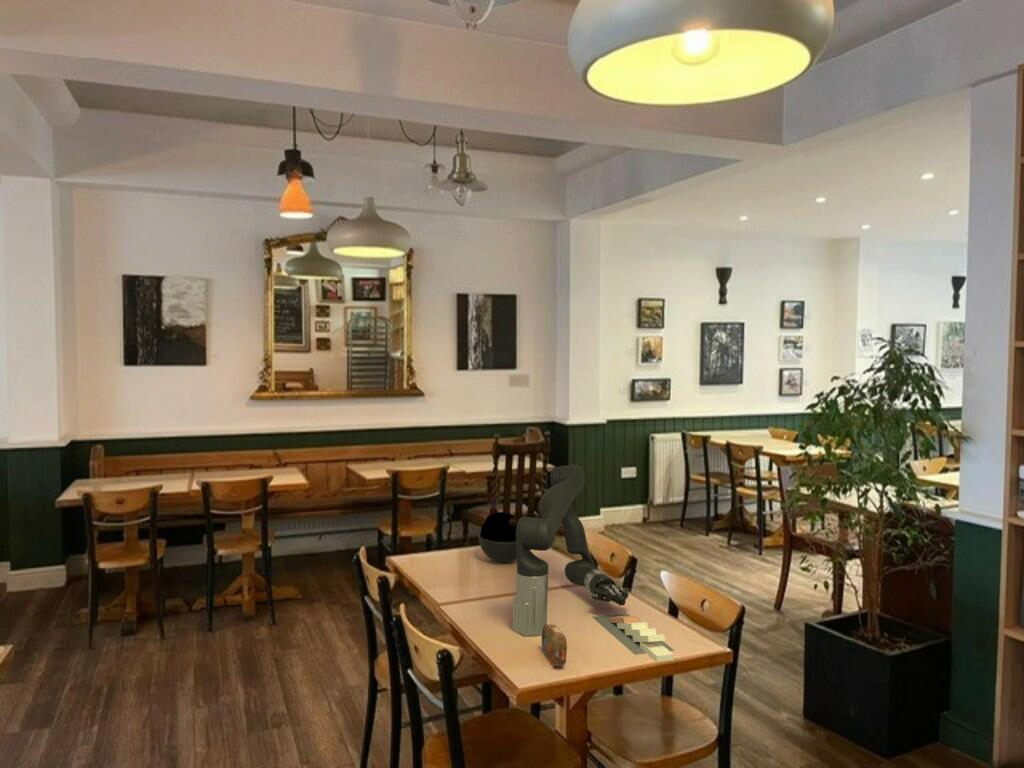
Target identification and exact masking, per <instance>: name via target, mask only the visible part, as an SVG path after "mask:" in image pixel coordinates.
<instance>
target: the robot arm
mask: <svg viewBox="0 0 1024 768" xmlns="http://www.w3.org/2000/svg"><path fill="white" fill-rule="evenodd" d="M549 476H550V477H549V478H550V485H551V487H549V488H548V489H547V490H545V492H544V493H543V495H542V496H541V498H540V500H538V501H539V502H538V506H537V508H538V512H539V515H540V517H541V518H539V517H529V516H522V517H520V518H519V519H518V521H517V524H516V525H517V527H516V552H517V557H516V560H515V561H516V585H515V586H516V587H515V588H516V590H515V592H516V593H515V597H514V598H513V601H512V631H514V632H515V633H517V634H519V635H521V636H524V637H527V636H533V637H534V636H540V635H541V636H542V631H543V627H544V625H545V624H548V598H549V597H548V594H549V591H548V590H549V564H548V562H546V560H545V559H544V560H543V559H542V558H539V557H538V556H536V555H535V554H534V553H533V552H532V551H538V552H539V551H548V550H550V548H552V546H553V544H554V542H555V539H556V536H557V533H558V531H559V528H560V526H561V525H562V528H563V533H564V541H565V546H566V550H567V552H568V554H570V555H580V557H581V559H577V560H573V561H572V560H571V561H569V562H568V563H567V564H566V565H565V567H564V574H565V576H566V579H567V580H568V582H570V583H572V584H573V585H577V586H581V587H584V588H585V589H587V590H588V592H589V593H590V594H591V599H592V600H596V601H601V602H605V603H609V602H612V603H615V604H616V605H618V606H621V607H622V606H625V605H626V601H627V599H628V598H629V596H630V588H629V587H623V588H621V587H620V586H618V585H617V584H616V582H615V581H614V580H613V578H612V577H610V576H608V575H607V574H606V573H604V572H602V571H600V570H599V569H597V568H596V564H595V562H594V559H593V557H592V556H591V553H590V551H589V548H588V543H587V538H586V536H587V535H586V531H585V527H584V525H583V523H582V521H581V519H580V518H579V517H578V516H577V514H575V512H574V510H573V509H572V508H571V505H572V503H573V501H574V500H575V498H576V497H577V496H578V495H579V493H580V492H581V491H582V490H583V488H584V485H585V480H586V475H585V471H584V469H583V468H582V467H581V466H580V465H578V464H568V465H567V464H566V465H560V466H555V467H553V468H552V469H551V471H550V474H549Z"/></svg>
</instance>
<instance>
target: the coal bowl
mask: <svg viewBox="0 0 1024 768" xmlns="http://www.w3.org/2000/svg"><path fill="white" fill-rule="evenodd" d="M514 517H515V515H514V514H511V513H510V512H506V513H505V512H504V511H497V512H493V513H491V514H490V515H488V516H487V517H486V519H485V522H484V523H482V527H481V528H480V534H478V537H477V538H478V542H479V543H478V544H479V545H480V546H479V547H480V548H481V550H482V552H483V553H484V554H485V556H486V557H488V558H489V559H491V560H492V561H495V562H497V563H503V564H504V563H512V562H514V561H516V557H517V552H516V527H517V524H516V525H515V524H514V525H513V524H511V523H509V522H510V520H511V519H513V518H514Z"/></svg>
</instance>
